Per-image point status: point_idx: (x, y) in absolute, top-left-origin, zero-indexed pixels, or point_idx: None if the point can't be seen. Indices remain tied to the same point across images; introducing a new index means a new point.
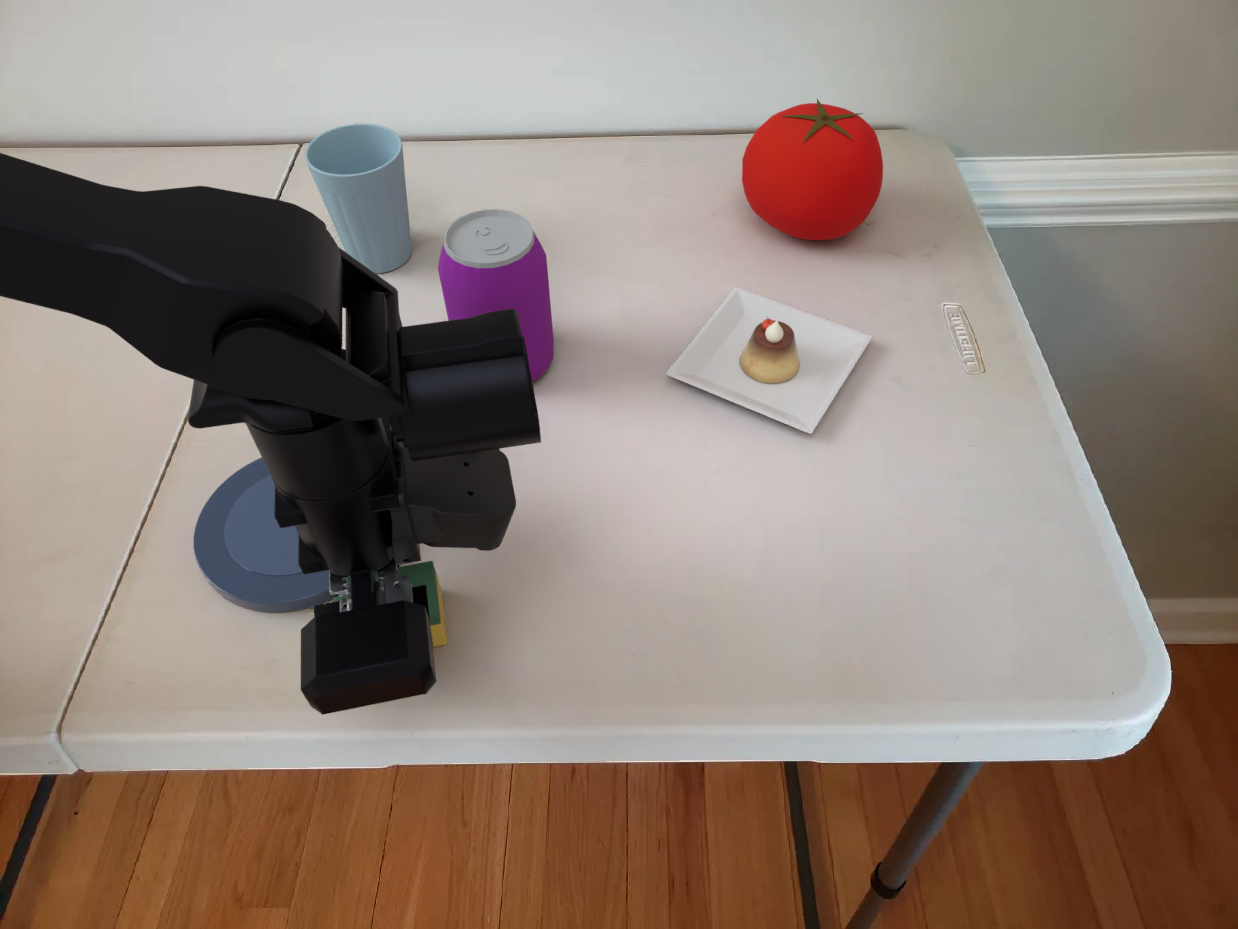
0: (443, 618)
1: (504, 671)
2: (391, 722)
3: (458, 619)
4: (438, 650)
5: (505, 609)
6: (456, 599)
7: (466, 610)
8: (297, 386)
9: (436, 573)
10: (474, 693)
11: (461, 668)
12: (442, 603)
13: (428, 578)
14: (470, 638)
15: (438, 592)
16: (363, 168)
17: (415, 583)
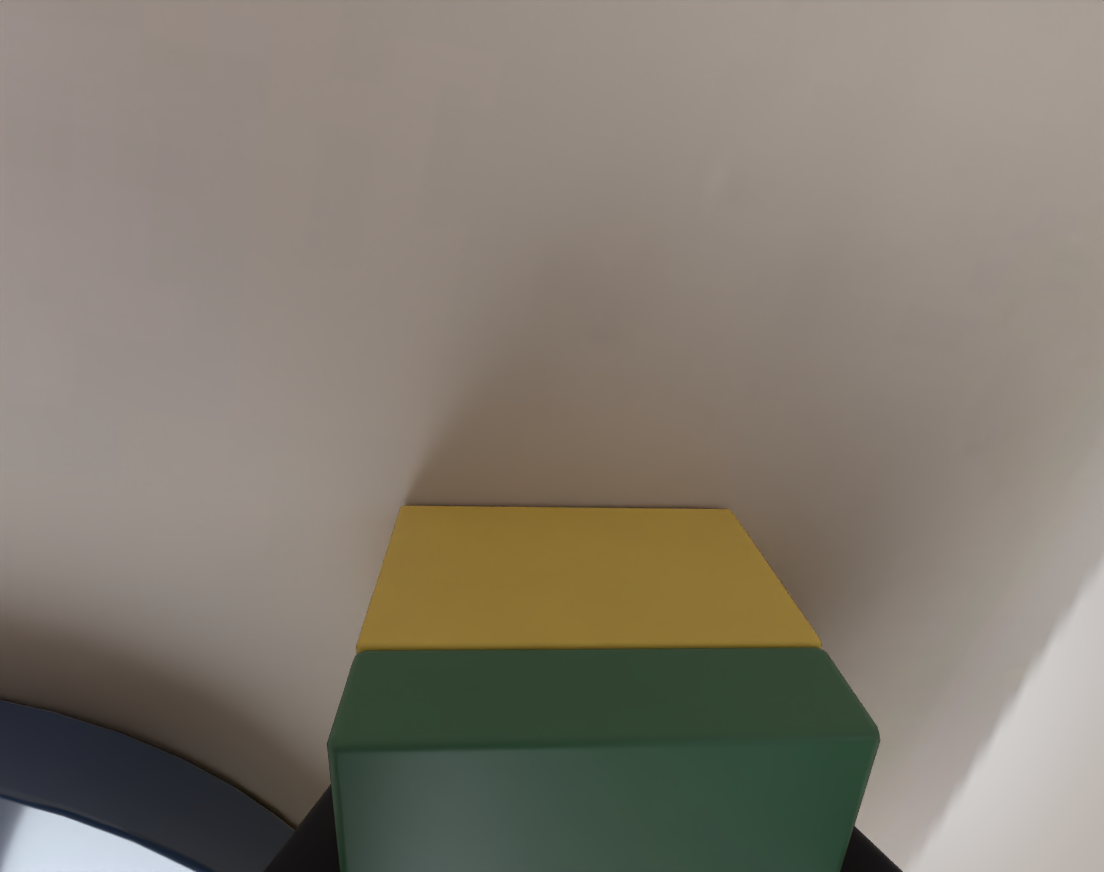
0: (637, 545)
1: (999, 249)
2: (974, 729)
3: (601, 441)
4: None
5: (618, 163)
6: (473, 436)
7: (558, 393)
8: None
9: (372, 615)
10: (1031, 418)
11: (878, 460)
12: (509, 524)
13: (513, 781)
14: (735, 396)
15: (541, 621)
16: None
17: (533, 856)
